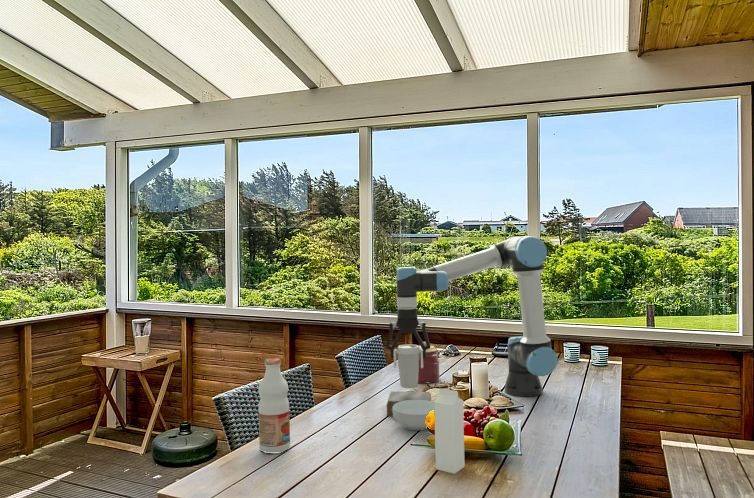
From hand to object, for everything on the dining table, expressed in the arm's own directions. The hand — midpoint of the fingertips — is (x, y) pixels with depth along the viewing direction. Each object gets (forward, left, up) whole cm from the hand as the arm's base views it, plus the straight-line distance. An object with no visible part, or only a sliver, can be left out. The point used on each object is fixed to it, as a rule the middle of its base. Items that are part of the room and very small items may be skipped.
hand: (408, 367), depth 208 cm
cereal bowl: (-4, +19, -16) cm, 25 cm away
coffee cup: (0, 0, -7) cm, 7 cm away
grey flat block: (0, 0, -16) cm, 16 cm away
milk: (-14, +53, -16) cm, 57 cm away
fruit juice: (+40, +41, -16) cm, 60 cm away
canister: (-5, -45, -16) cm, 48 cm away
